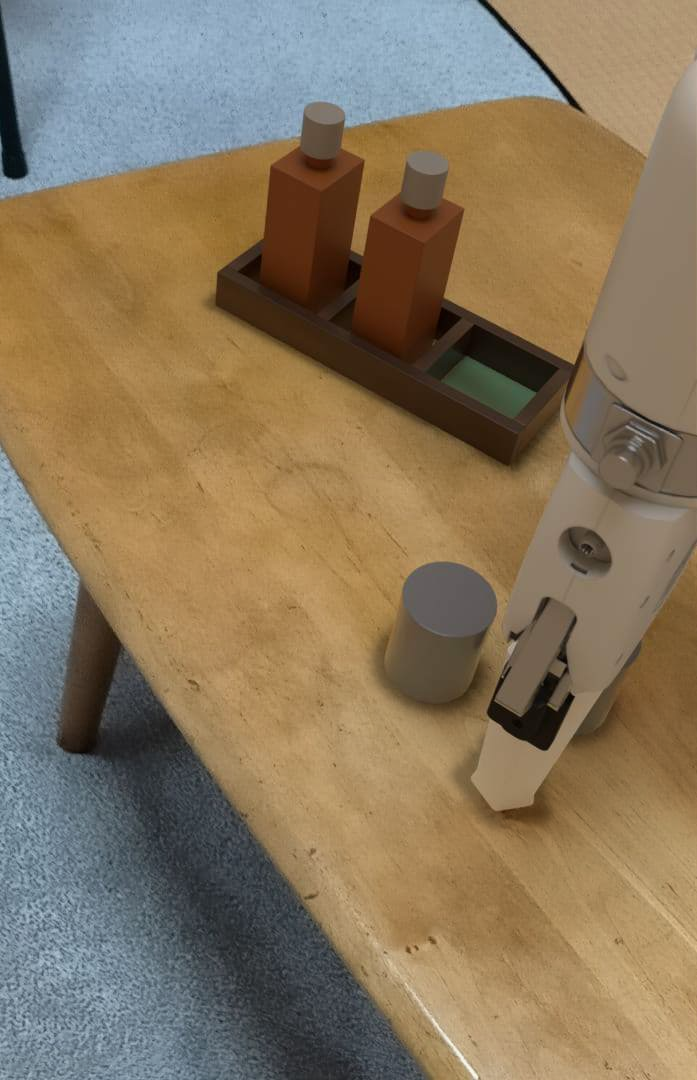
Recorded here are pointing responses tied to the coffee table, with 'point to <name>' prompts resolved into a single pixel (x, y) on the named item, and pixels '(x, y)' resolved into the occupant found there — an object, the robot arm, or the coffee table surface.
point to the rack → (451, 404)
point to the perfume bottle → (524, 753)
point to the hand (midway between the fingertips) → (546, 689)
